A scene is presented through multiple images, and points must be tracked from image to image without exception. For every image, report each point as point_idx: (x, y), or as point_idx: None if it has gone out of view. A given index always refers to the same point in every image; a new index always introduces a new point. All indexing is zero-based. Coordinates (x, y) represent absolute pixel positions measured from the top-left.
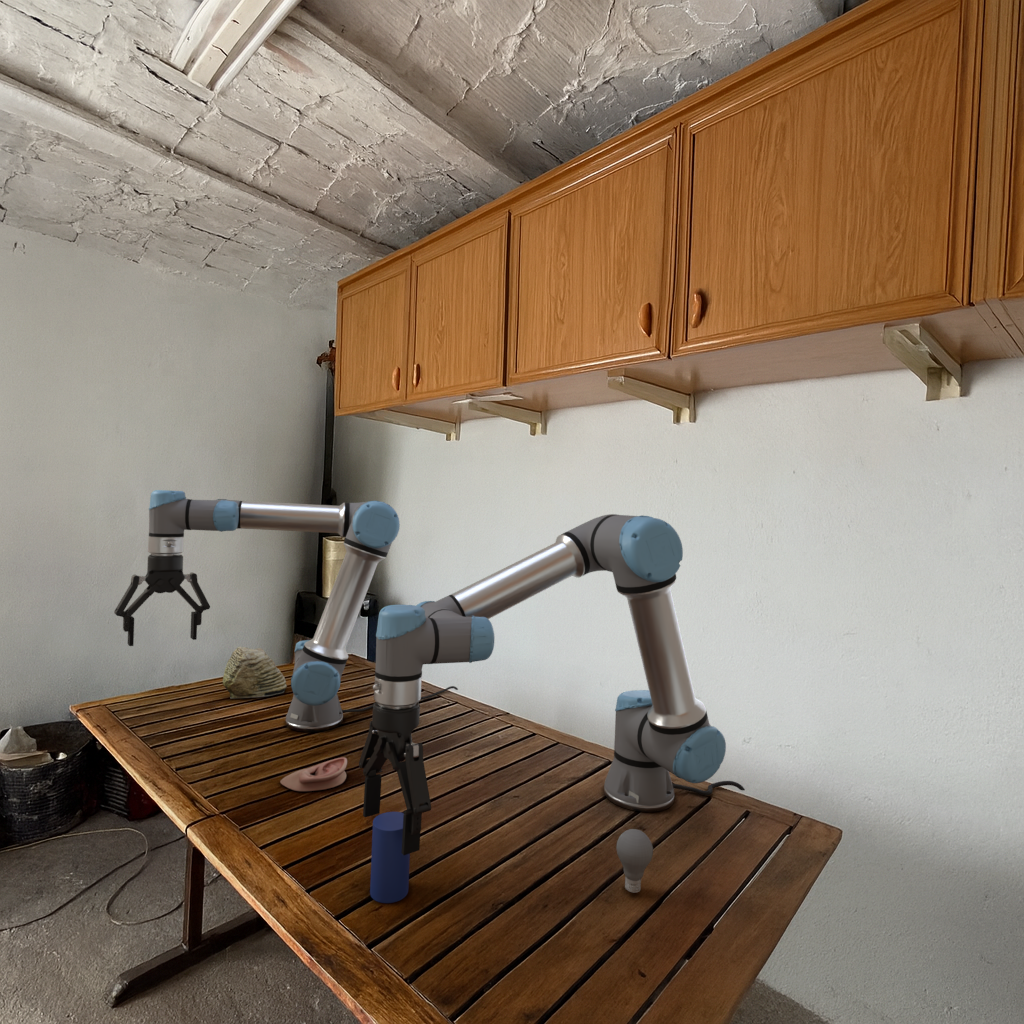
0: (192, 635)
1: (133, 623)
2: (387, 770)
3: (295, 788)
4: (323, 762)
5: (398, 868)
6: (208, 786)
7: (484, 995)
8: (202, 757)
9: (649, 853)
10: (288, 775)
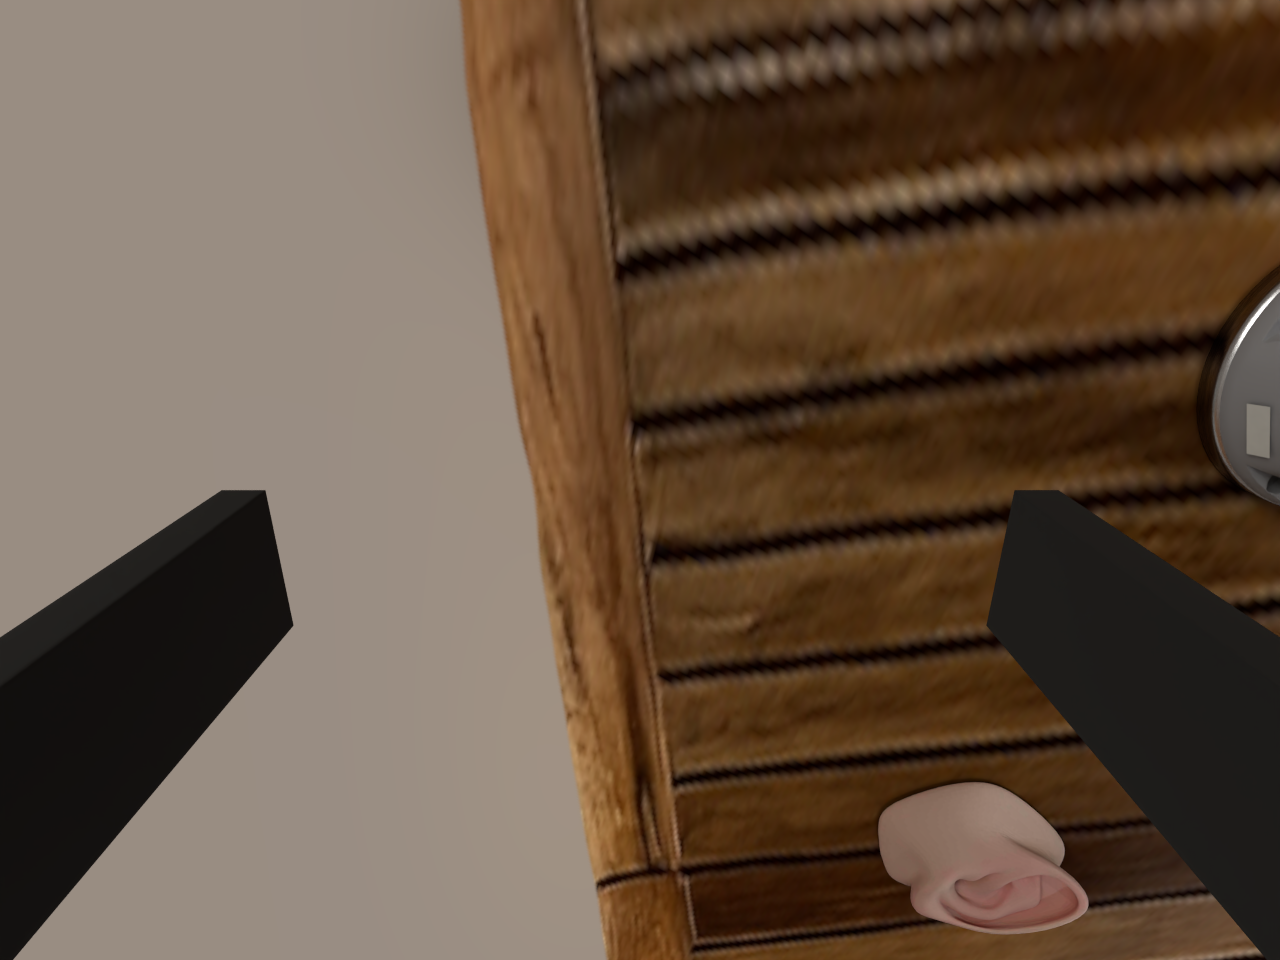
0: (1021, 610)
1: (69, 881)
2: (1170, 882)
3: (891, 874)
4: (1027, 864)
5: None
6: (703, 724)
7: None
8: (763, 497)
9: None
10: (913, 821)
